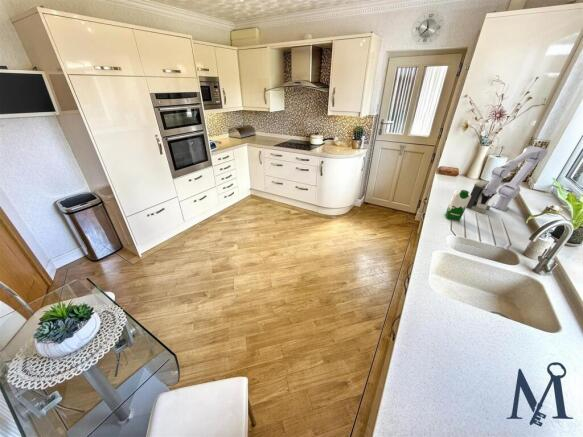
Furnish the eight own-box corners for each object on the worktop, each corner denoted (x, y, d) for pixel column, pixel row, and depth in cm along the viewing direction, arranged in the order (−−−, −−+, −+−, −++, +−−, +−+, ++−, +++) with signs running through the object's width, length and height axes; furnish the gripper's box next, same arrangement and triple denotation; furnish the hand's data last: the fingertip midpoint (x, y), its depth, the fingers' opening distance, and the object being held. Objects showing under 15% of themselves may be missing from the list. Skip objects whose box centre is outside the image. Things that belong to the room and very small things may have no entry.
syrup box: (484, 211, 164) (493, 192, 157) (474, 208, 167) (483, 189, 160) (484, 209, 168) (493, 190, 161) (474, 206, 171) (483, 188, 164)
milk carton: (445, 219, 153) (457, 191, 143) (443, 213, 160) (455, 186, 150) (460, 222, 150) (474, 194, 140) (458, 216, 157) (471, 188, 147)
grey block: (470, 202, 177) (481, 180, 168) (489, 208, 169) (502, 185, 160) (463, 207, 170) (474, 183, 161) (483, 213, 162) (496, 189, 152)
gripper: (497, 189, 151) (487, 207, 158) (503, 184, 159) (494, 202, 166) (484, 185, 156) (475, 203, 163) (491, 181, 164) (482, 198, 171)
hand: (484, 202), depth 165 cm, fingers open, 7 cm apart
